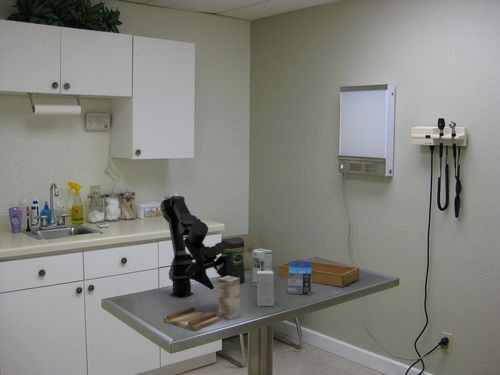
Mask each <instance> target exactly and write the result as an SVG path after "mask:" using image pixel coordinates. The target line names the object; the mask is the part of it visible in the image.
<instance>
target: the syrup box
mask: <svg viewBox="0 0 500 375" xmlns="http://www.w3.org/2000/svg"><path fill="white" fill-rule="evenodd" d="M272 255H273V250H269V249H264V248H257V249H253V250H252V280H251V281H252V283H251V284H252V286H256V287H257V271H273V270H272V266H273V265H272V262H273V261H272V259H273V256H272Z"/></svg>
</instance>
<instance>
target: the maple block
mask: <svg viewBox="0 0 500 375" xmlns="http://www.w3.org/2000/svg"><path fill="white" fill-rule="evenodd" d="M240 285H241V283H240V278H237V277H232V276H226V277H222V278H221V277H219V278H218V317H220V318H224V319H228V320H233V319H234V318H237V317H239V316H240V311H241V310H240V308H241V307H240V306H241V305H240V298H241V297H240V296H241V294H240V292H241V291H240Z"/></svg>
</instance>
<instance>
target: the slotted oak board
mask: <svg viewBox="0 0 500 375" xmlns="http://www.w3.org/2000/svg"><path fill="white" fill-rule="evenodd" d="M163 322H164V323H166V324H170V325H173V326H176V327H180V328H183V329H187V330H189V331H190V330H191V331H194V332H196V331H199V330H202V329H203V328H206V327H209V326H211V325H214V324H217V323H219V322H221V317H219V316H217V312H214V311H213V312H210V313H204V312H201V311H198V310H197V311H196V307H195V306H190V307H187V308H184V309H181V310H179V311H175V312H173V313H170V314H168V315H166V317H164V318H163Z"/></svg>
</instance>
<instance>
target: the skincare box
mask: <svg viewBox="0 0 500 375" xmlns="http://www.w3.org/2000/svg"><path fill="white" fill-rule="evenodd" d="M274 276H275V273H274V270H271V271H257V286H256V305H257V307H275V300H274V299H275V297H274V296H275V294H274V293H275V291H274V290H275V279H274Z"/></svg>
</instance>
